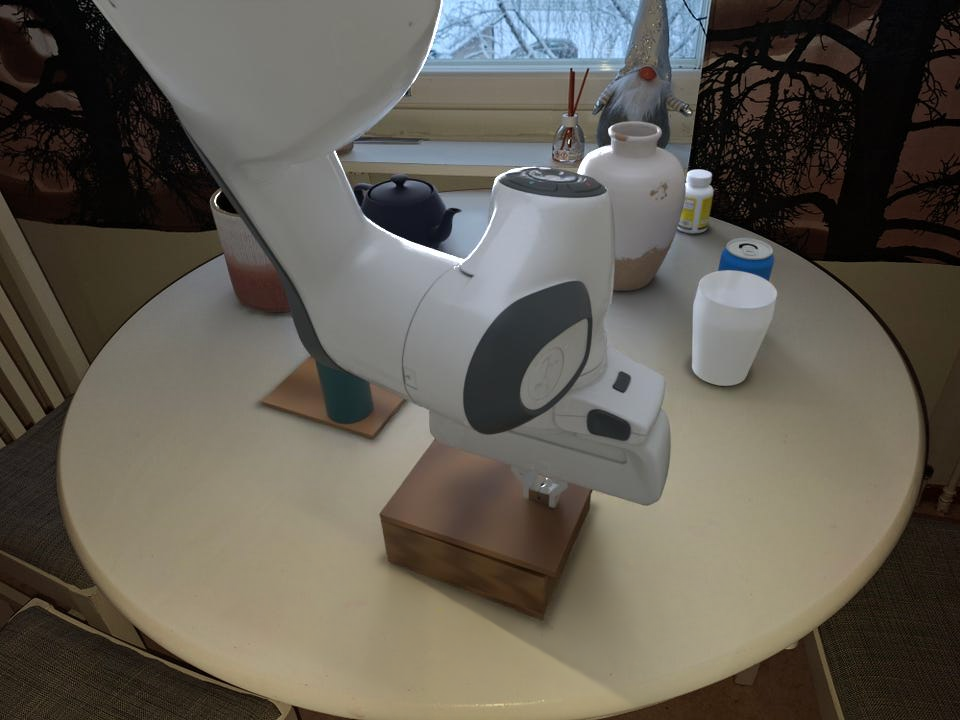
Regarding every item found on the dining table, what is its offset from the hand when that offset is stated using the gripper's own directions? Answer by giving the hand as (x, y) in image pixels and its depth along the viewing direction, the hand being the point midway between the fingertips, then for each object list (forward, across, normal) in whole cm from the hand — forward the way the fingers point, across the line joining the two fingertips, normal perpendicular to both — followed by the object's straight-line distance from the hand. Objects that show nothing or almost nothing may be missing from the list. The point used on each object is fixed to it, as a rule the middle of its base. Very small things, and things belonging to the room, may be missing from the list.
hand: (542, 498), depth 60 cm
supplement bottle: (+8, 0, +75) cm, 75 cm away
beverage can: (+8, +11, +46) cm, 48 cm away
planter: (+7, -53, +32) cm, 62 cm away
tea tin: (+7, -28, +10) cm, 30 cm away
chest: (+7, -5, 0) cm, 9 cm away
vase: (+8, -7, +54) cm, 55 cm away
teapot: (+8, -43, +51) cm, 67 cm away
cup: (+8, +11, +35) cm, 37 cm away
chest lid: (+1, -5, 0) cm, 5 cm away
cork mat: (+7, -31, +18) cm, 37 cm away
